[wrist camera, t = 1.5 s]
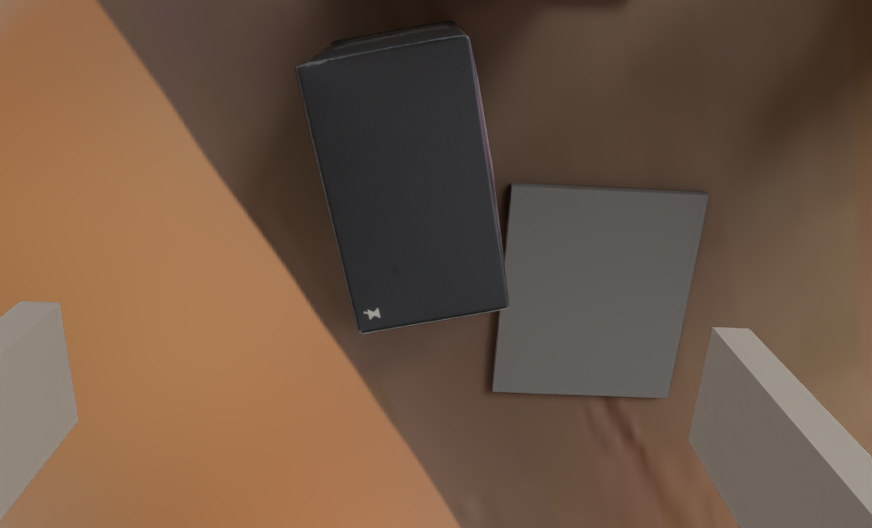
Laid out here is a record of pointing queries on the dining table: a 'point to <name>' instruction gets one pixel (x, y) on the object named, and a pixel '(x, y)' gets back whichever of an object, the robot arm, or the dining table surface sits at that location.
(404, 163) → the small box
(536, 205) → the felt mat
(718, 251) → the dining table surface
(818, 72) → the dining table surface
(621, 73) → the dining table surface
